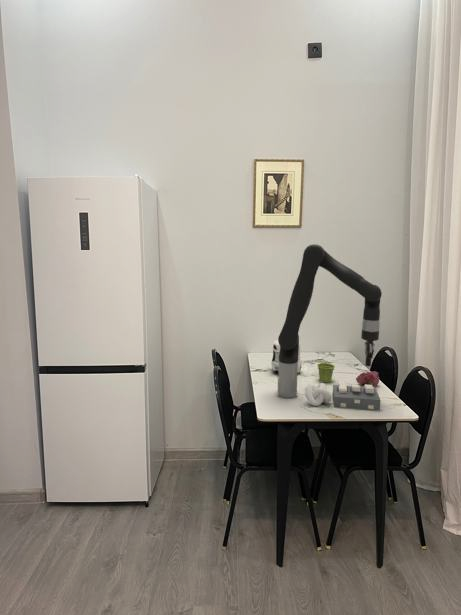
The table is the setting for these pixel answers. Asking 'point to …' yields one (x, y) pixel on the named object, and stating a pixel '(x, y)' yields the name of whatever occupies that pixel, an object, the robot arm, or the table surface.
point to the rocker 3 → (369, 388)
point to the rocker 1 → (342, 387)
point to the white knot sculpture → (317, 394)
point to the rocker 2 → (355, 387)
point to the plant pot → (325, 372)
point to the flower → (368, 378)
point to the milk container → (276, 357)
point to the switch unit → (356, 399)
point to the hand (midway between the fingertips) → (367, 365)
